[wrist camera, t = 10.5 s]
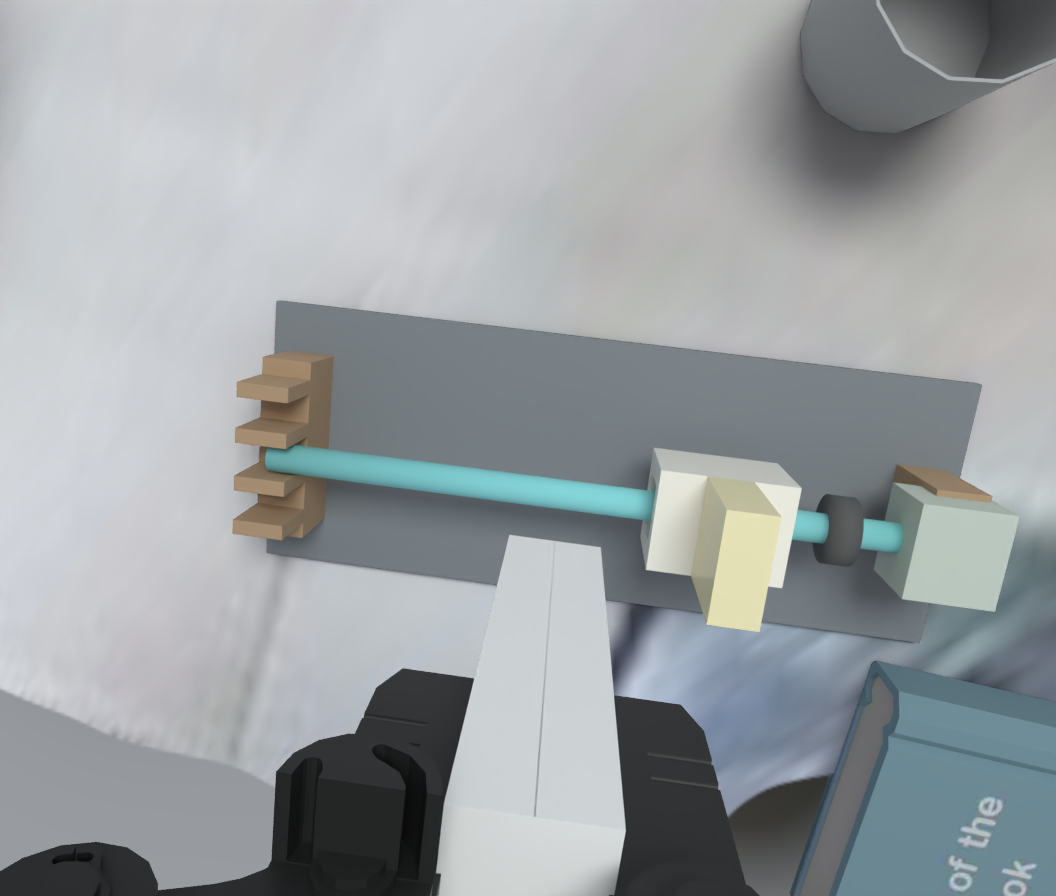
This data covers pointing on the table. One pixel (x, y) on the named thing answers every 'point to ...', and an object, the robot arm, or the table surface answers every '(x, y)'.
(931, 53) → the cup
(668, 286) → the table surface
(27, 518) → the table surface
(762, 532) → the sliding rod collar
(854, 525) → the cord rig
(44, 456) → the table surface
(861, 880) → the book
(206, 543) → the table surface
